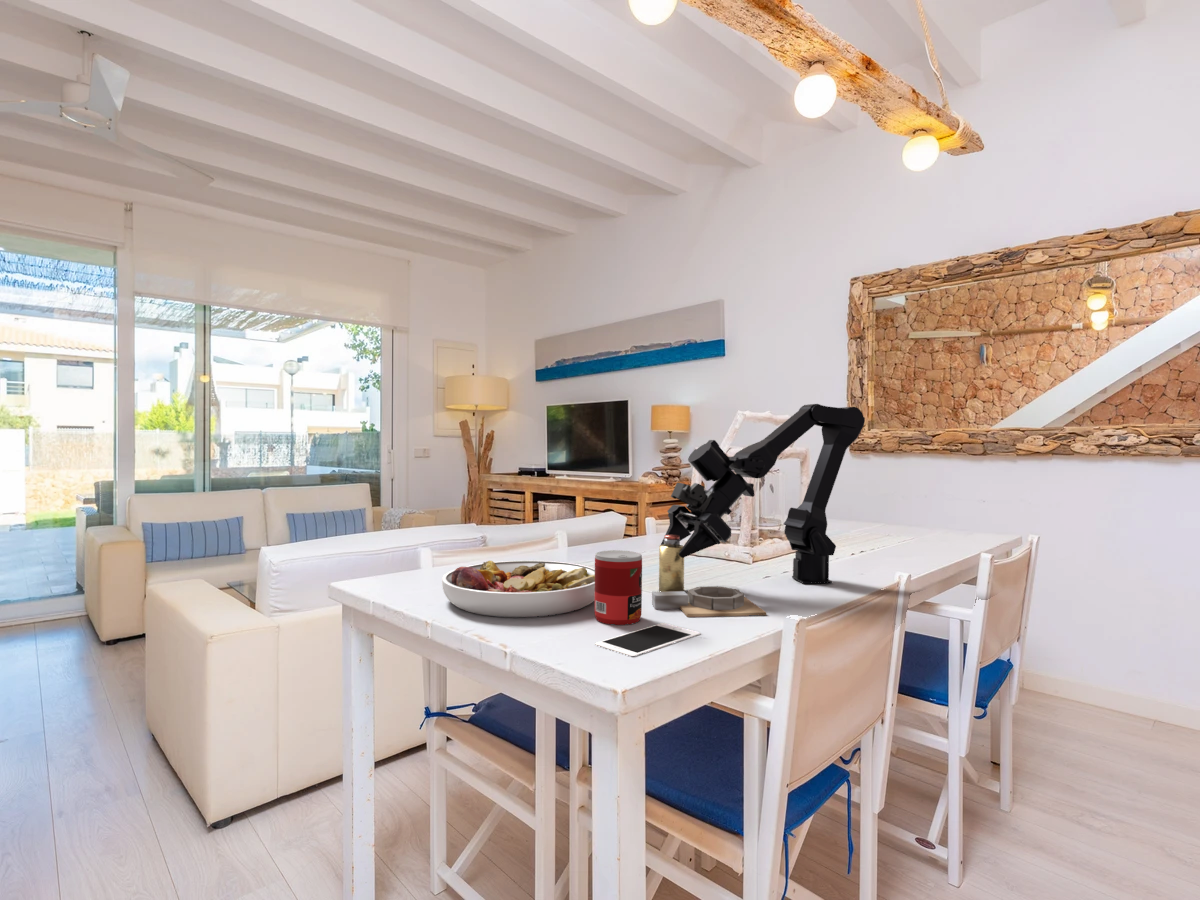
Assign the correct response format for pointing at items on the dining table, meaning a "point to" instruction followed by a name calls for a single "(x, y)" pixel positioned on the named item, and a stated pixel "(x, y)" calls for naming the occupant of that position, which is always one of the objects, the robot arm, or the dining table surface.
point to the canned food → (618, 587)
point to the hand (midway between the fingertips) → (670, 552)
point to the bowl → (520, 588)
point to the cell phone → (647, 639)
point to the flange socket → (707, 602)
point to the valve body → (671, 565)
